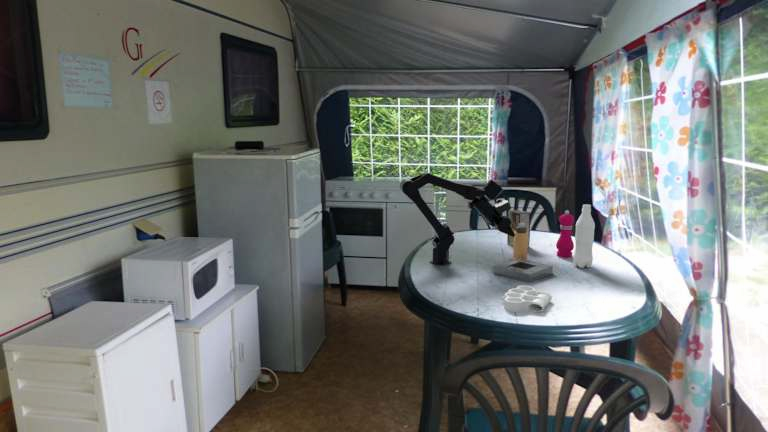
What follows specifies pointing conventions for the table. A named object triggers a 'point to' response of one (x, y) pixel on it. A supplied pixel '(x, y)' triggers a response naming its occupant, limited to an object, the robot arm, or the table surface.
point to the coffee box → (517, 218)
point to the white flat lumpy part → (525, 299)
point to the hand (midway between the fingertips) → (510, 233)
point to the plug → (520, 242)
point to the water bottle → (584, 238)
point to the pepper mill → (565, 236)
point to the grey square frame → (522, 269)
